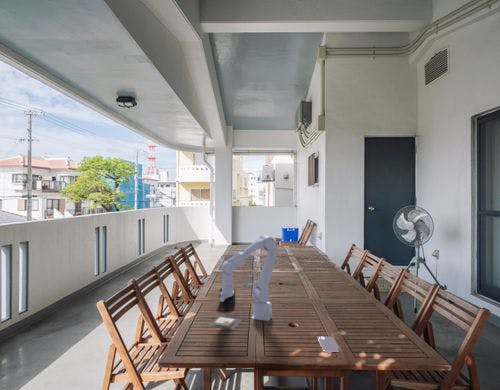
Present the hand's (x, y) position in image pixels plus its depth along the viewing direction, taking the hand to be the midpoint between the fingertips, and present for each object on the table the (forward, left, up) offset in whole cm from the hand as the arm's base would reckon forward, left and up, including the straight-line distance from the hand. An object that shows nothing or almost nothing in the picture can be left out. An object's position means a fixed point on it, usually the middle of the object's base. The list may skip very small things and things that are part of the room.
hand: (227, 310), depth 173 cm
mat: (0, +2, -6) cm, 6 cm away
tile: (0, 0, -4) cm, 4 cm away
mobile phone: (-53, +8, -6) cm, 54 cm away
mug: (+10, -22, -6) cm, 24 cm away
